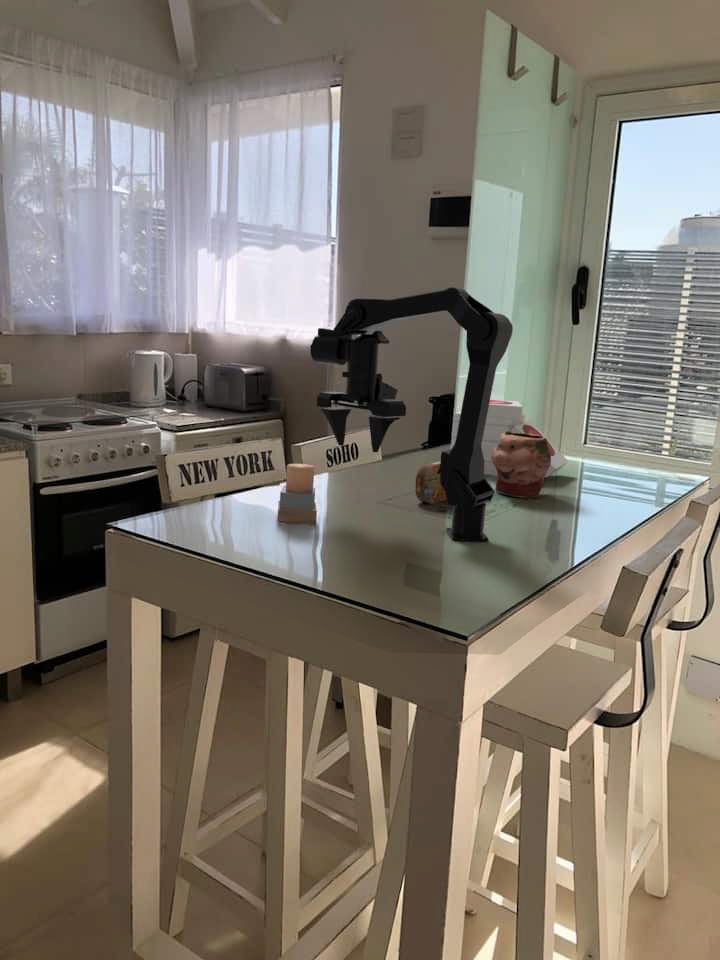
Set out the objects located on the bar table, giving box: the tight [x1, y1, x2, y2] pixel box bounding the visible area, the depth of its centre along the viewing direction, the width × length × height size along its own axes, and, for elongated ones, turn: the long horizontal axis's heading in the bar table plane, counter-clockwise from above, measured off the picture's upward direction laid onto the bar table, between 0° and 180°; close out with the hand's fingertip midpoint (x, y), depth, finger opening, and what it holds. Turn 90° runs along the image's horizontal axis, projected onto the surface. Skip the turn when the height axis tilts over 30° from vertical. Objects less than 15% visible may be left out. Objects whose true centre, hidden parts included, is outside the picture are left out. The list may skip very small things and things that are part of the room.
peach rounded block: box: [285, 463, 315, 493], centre depth 145 cm, size 5×5×4 cm
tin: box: [415, 460, 447, 505], centre depth 170 cm, size 15×3×8 cm, turn 143°
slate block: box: [279, 485, 316, 511], centre depth 146 cm, size 6×6×3 cm
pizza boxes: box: [450, 396, 569, 478], centre depth 209 cm, size 19×30×18 cm, turn 63°
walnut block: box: [277, 500, 318, 526], centre depth 147 cm, size 7×7×3 cm
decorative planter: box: [491, 431, 551, 499], centre depth 183 cm, size 20×12×14 cm, turn 142°
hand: (357, 448), depth 153 cm, fingers open, 9 cm apart
